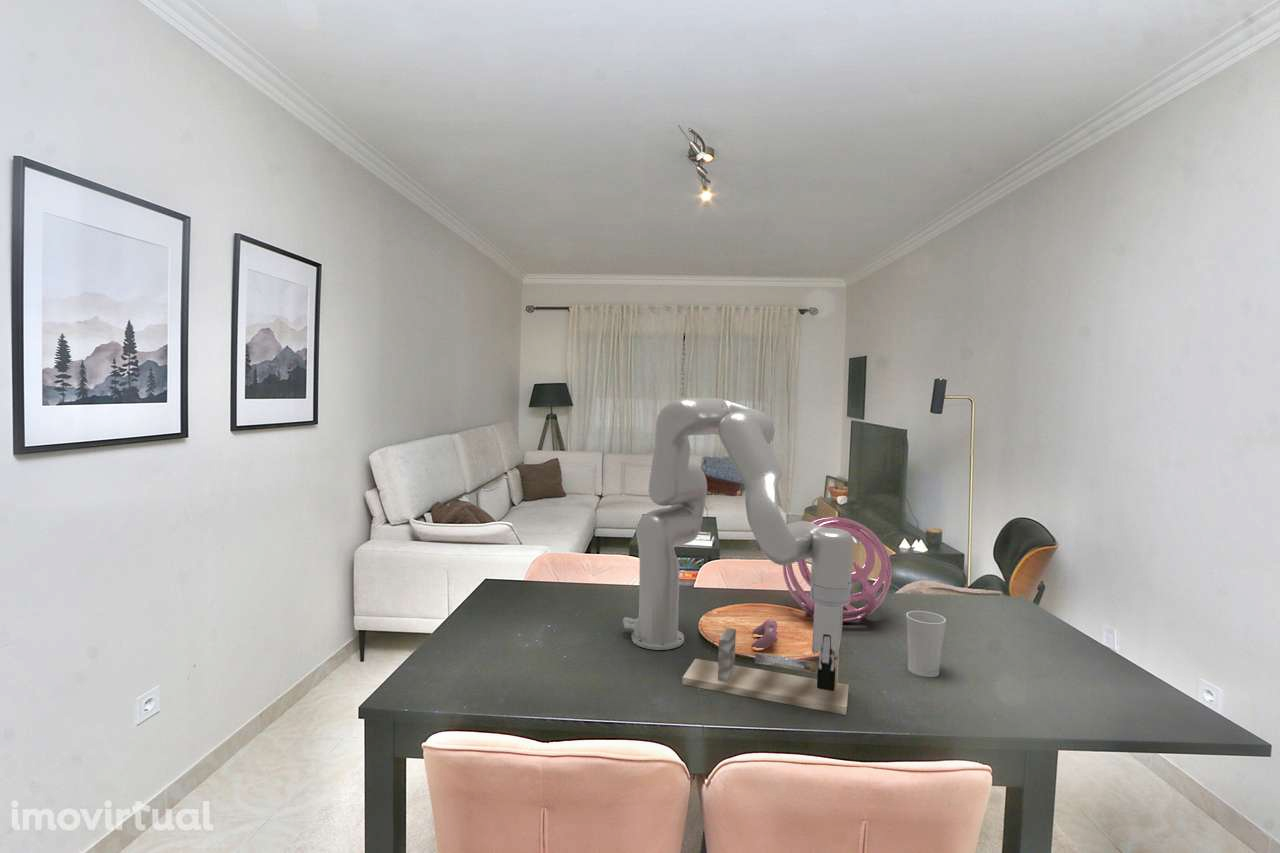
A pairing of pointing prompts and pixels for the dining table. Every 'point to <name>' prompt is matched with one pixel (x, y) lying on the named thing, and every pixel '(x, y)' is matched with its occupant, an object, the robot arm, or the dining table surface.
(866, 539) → the spiral basket
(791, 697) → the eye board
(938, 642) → the cup
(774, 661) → the peg
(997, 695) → the dining table surface
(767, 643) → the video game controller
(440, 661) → the dining table surface
